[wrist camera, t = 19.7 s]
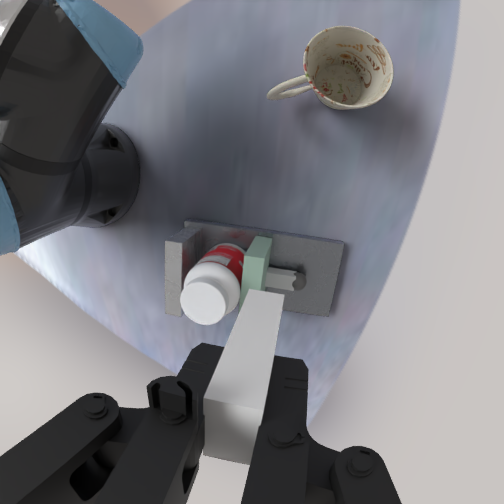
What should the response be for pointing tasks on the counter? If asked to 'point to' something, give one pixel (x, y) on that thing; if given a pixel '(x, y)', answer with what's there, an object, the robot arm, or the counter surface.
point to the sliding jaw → (266, 271)
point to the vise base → (281, 257)
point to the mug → (342, 69)
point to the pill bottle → (214, 284)
